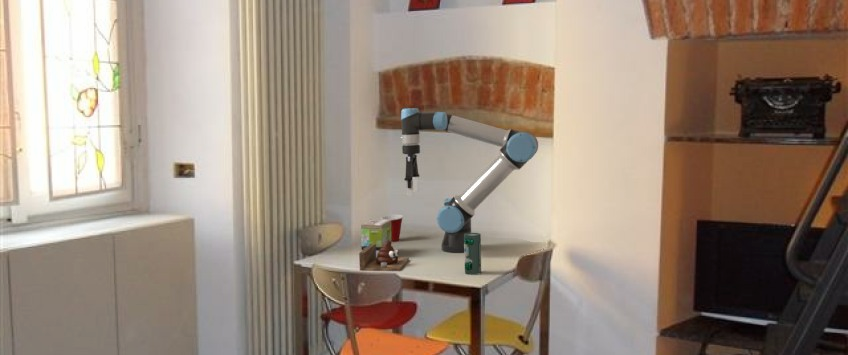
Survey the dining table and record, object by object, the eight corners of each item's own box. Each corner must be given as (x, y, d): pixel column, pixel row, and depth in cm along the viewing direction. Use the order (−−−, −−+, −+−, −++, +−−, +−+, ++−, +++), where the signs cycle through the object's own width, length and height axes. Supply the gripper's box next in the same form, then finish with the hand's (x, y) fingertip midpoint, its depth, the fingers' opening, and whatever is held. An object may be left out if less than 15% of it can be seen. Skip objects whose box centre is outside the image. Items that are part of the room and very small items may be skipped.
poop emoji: (385, 259, 309) (384, 237, 308) (402, 261, 305) (402, 238, 304) (371, 264, 301) (371, 241, 300) (389, 266, 297) (389, 243, 296)
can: (464, 271, 289) (463, 233, 288) (479, 270, 289) (479, 232, 288) (466, 274, 283) (465, 235, 282) (481, 274, 283) (481, 235, 282)
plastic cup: (376, 241, 355) (375, 216, 354) (391, 238, 364) (390, 213, 363) (394, 243, 349) (393, 218, 348) (408, 240, 357) (407, 215, 356)
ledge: (408, 260, 312) (408, 243, 311) (399, 271, 292) (399, 253, 291) (371, 259, 314) (371, 243, 314) (359, 270, 295) (359, 253, 294)
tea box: (383, 259, 316) (382, 224, 314) (361, 258, 318) (359, 224, 316) (392, 252, 330) (391, 218, 329) (370, 251, 332) (369, 218, 331)
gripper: (407, 143, 331) (408, 190, 333) (397, 146, 307) (399, 197, 309) (423, 142, 330) (425, 190, 332) (415, 146, 305) (416, 197, 308)
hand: (412, 193), depth 320 cm, fingers open, 13 cm apart
